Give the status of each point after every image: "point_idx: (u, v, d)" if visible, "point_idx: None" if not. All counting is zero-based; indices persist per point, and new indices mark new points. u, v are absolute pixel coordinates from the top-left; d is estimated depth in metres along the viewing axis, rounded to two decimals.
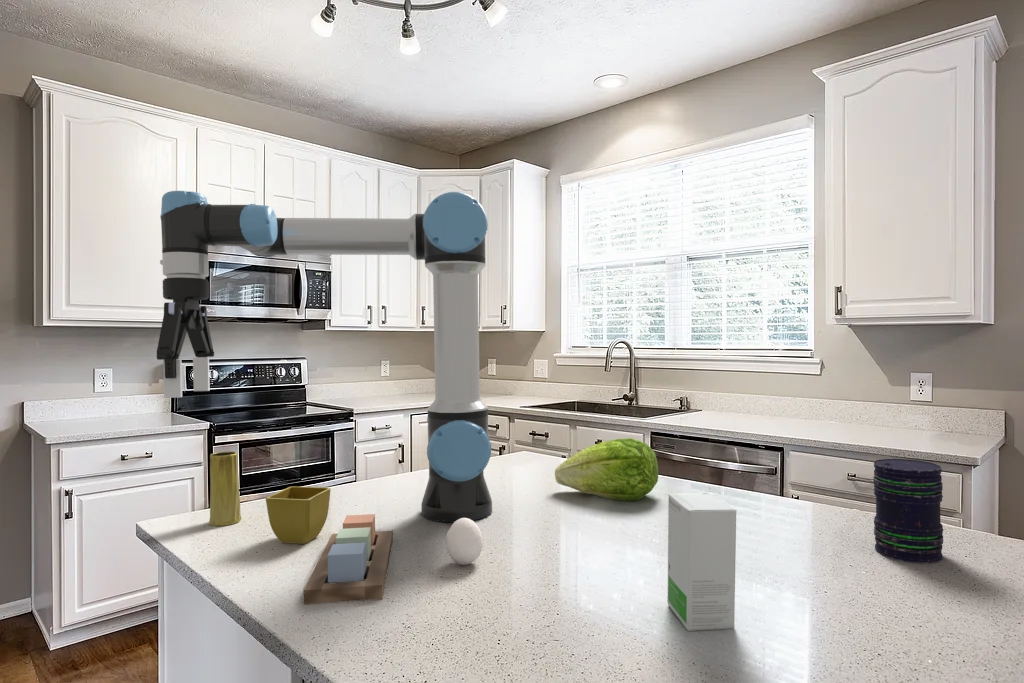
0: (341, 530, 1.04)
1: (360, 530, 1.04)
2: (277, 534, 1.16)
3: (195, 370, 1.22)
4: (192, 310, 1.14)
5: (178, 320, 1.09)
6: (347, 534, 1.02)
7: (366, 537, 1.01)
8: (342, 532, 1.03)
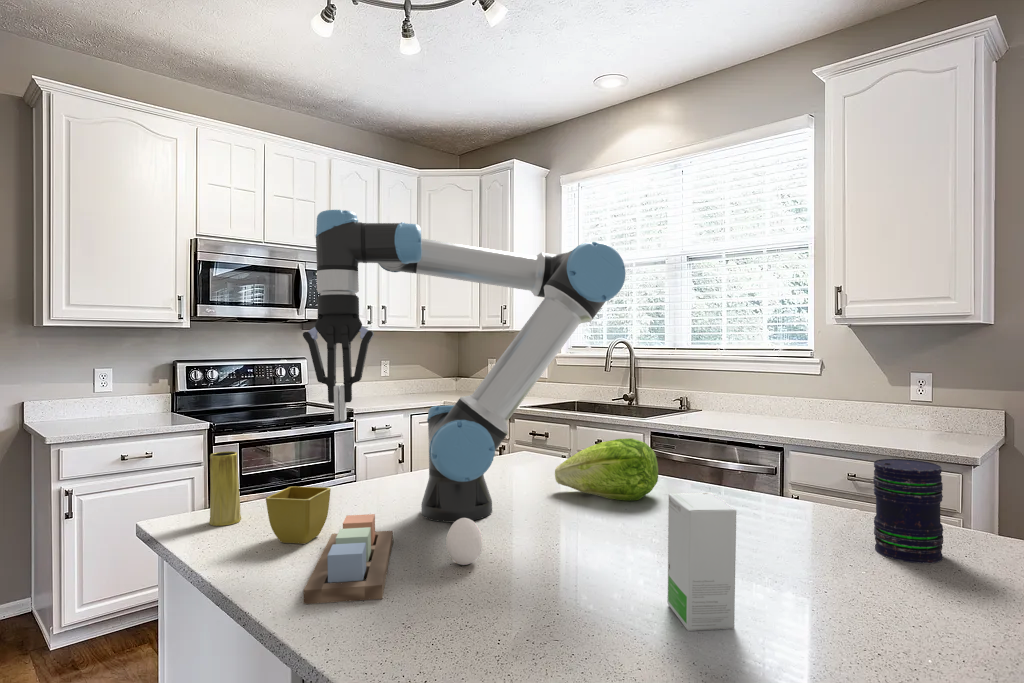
0: (341, 530, 1.04)
1: (360, 530, 1.04)
2: (277, 534, 1.16)
3: None
4: (327, 328, 1.16)
5: (311, 348, 1.16)
6: (347, 534, 1.02)
7: (366, 537, 1.01)
8: (342, 532, 1.03)
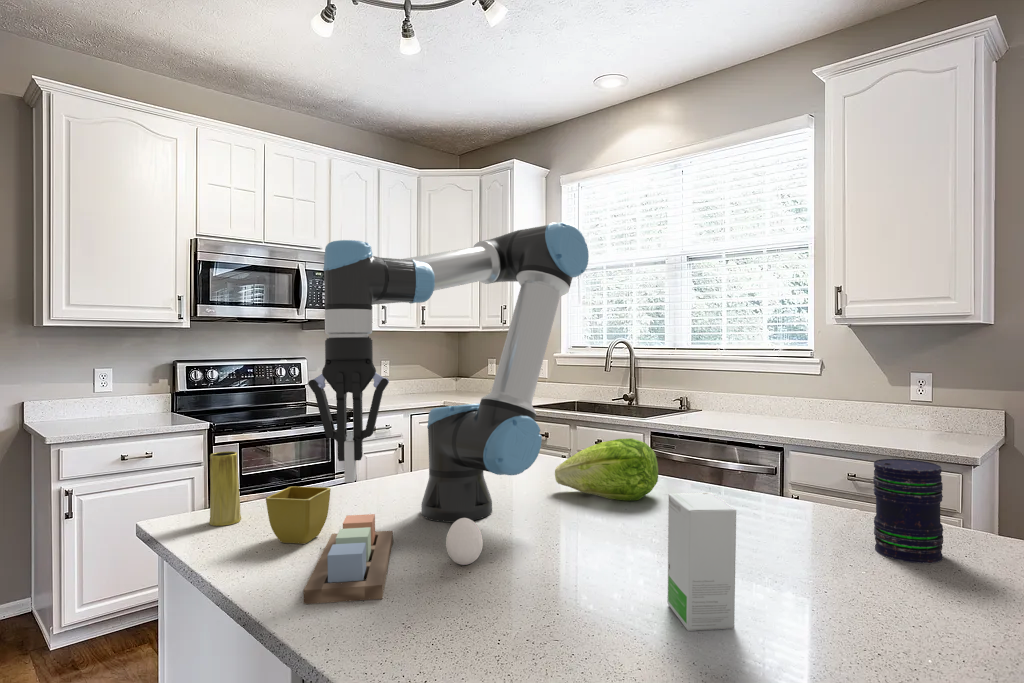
0: (341, 530, 1.04)
1: (360, 530, 1.04)
2: (277, 534, 1.16)
3: None
4: (336, 376, 1.01)
5: (318, 399, 1.01)
6: (347, 534, 1.02)
7: (366, 537, 1.01)
8: (342, 532, 1.03)
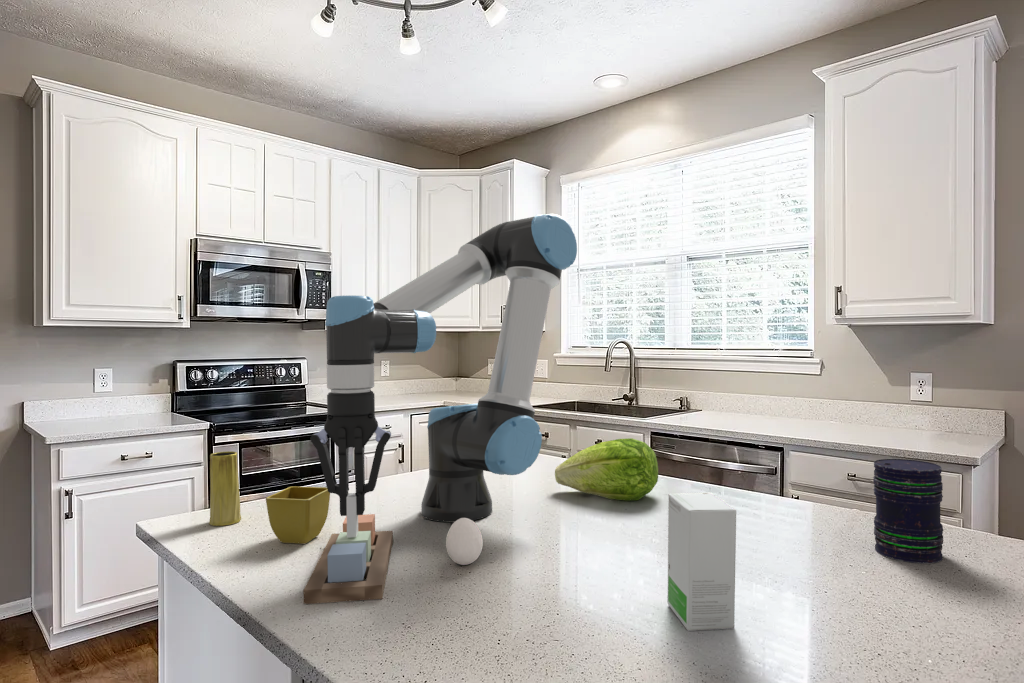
0: (341, 533, 1.04)
1: (360, 534, 1.04)
2: (277, 534, 1.16)
3: None
4: (338, 431, 1.01)
5: (320, 454, 1.01)
6: (347, 538, 1.02)
7: (366, 541, 1.01)
8: (342, 535, 1.03)
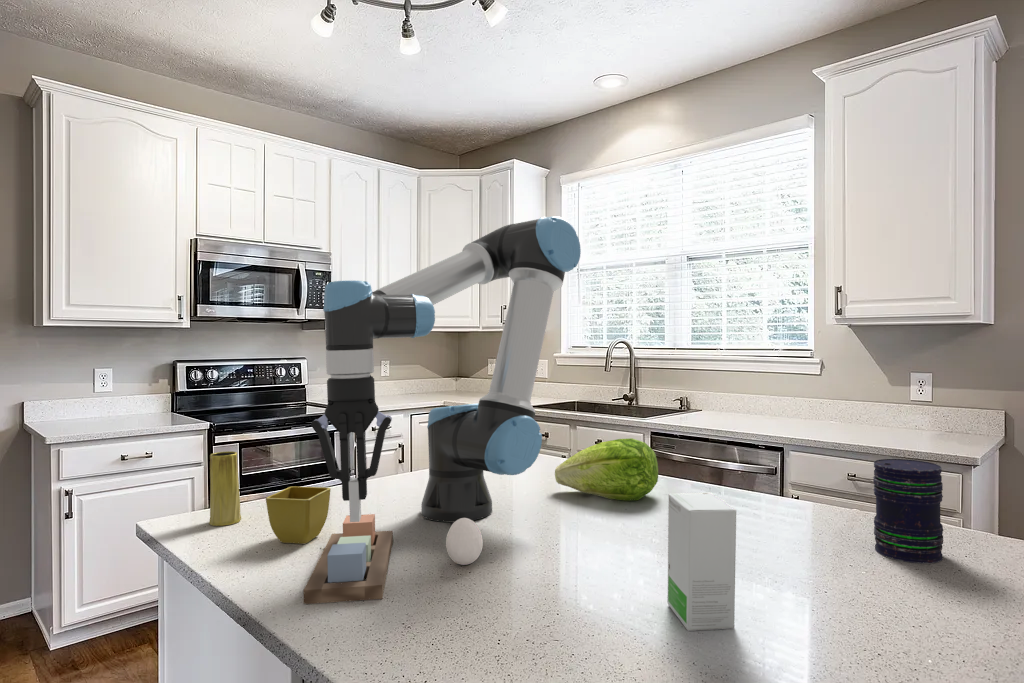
0: (341, 538, 1.04)
1: (360, 538, 1.04)
2: (277, 534, 1.16)
3: None
4: (339, 416, 1.01)
5: (321, 440, 1.01)
6: (347, 543, 1.02)
7: (366, 546, 1.01)
8: (342, 540, 1.03)
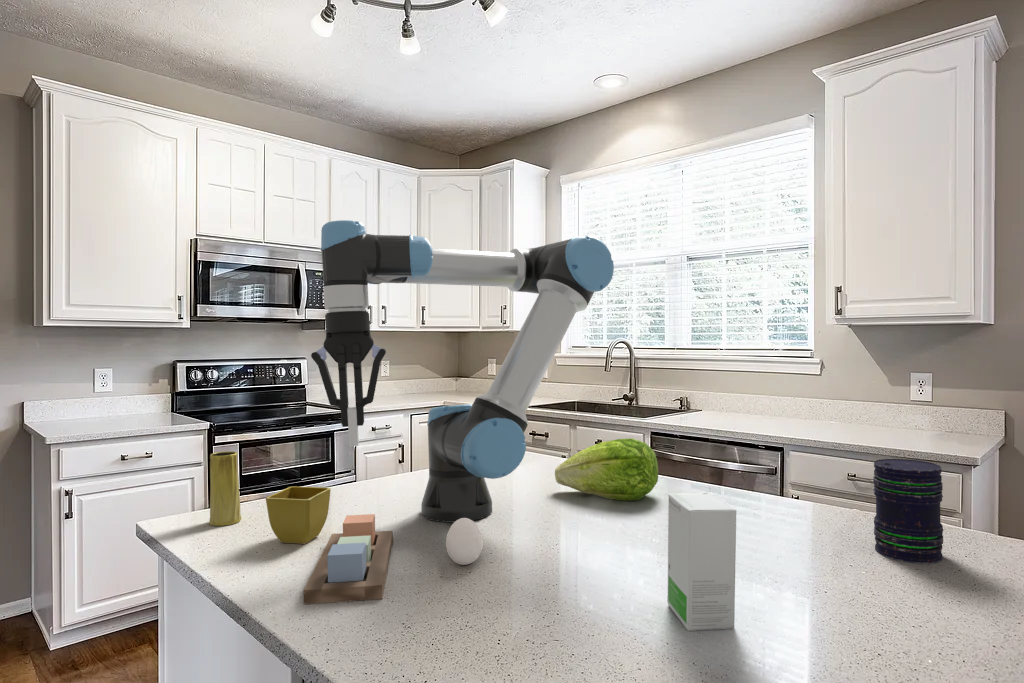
0: (341, 538, 1.04)
1: (360, 538, 1.04)
2: (277, 534, 1.16)
3: None
4: (337, 347, 1.09)
5: (321, 370, 1.09)
6: (347, 543, 1.02)
7: (366, 546, 1.01)
8: (342, 540, 1.03)
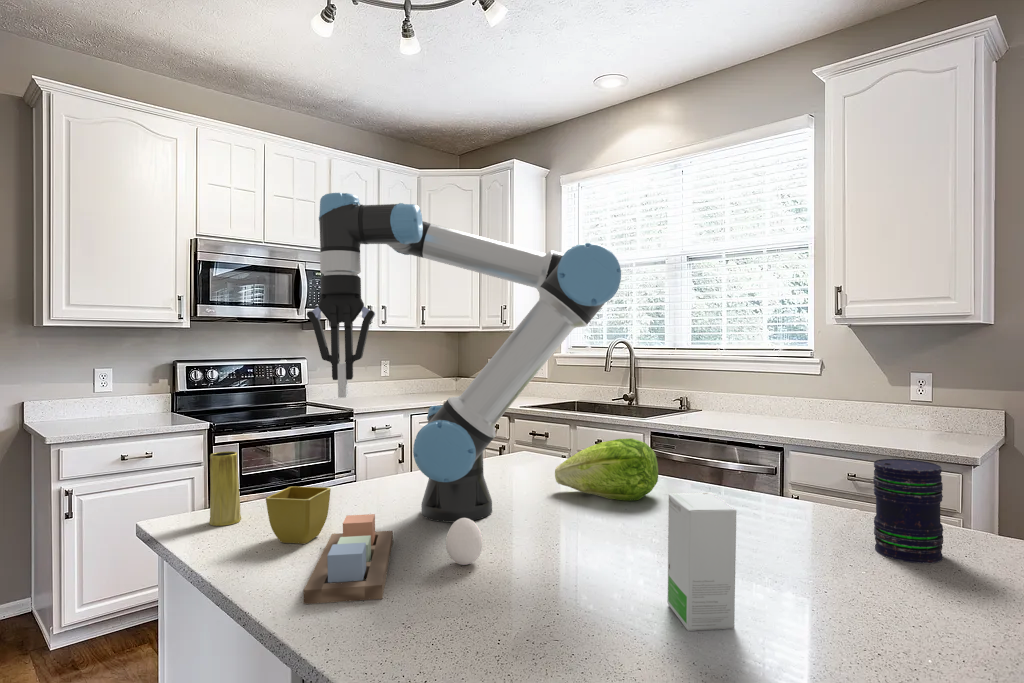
0: (341, 538, 1.04)
1: (360, 538, 1.04)
2: (277, 534, 1.16)
3: None
4: (330, 307, 1.20)
5: (315, 327, 1.20)
6: (347, 543, 1.02)
7: (366, 546, 1.01)
8: (342, 540, 1.03)
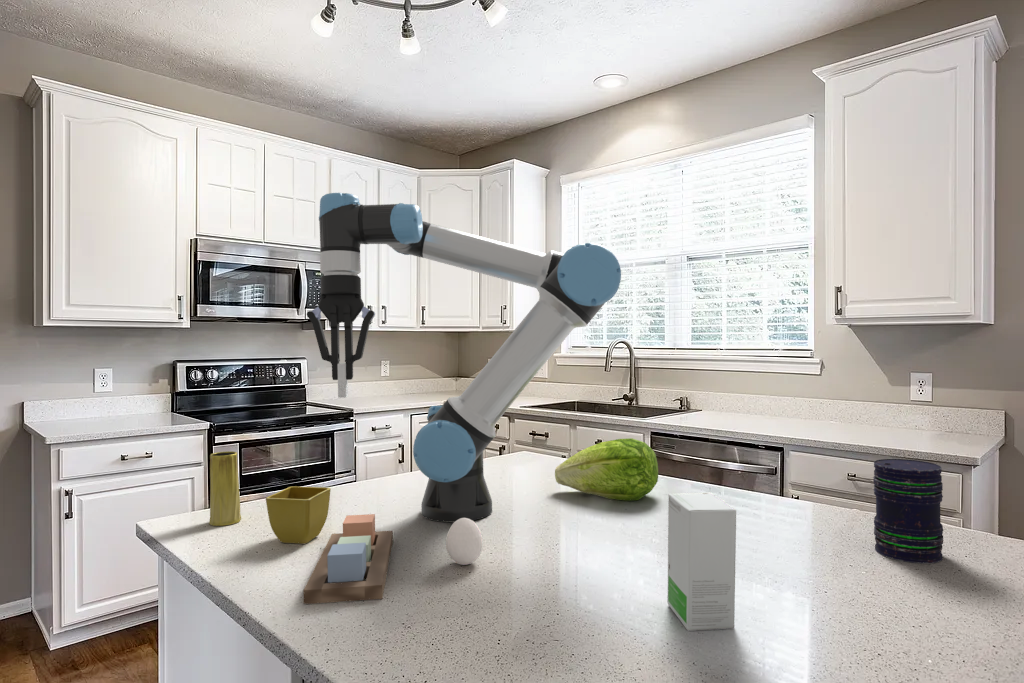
0: (341, 538, 1.04)
1: (360, 538, 1.04)
2: (277, 534, 1.16)
3: None
4: (330, 307, 1.20)
5: (315, 327, 1.20)
6: (347, 543, 1.02)
7: (366, 546, 1.01)
8: (342, 540, 1.03)
